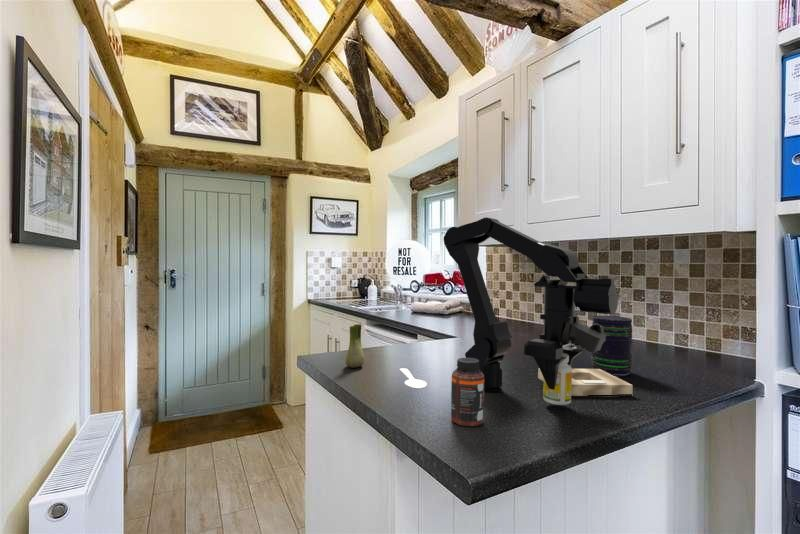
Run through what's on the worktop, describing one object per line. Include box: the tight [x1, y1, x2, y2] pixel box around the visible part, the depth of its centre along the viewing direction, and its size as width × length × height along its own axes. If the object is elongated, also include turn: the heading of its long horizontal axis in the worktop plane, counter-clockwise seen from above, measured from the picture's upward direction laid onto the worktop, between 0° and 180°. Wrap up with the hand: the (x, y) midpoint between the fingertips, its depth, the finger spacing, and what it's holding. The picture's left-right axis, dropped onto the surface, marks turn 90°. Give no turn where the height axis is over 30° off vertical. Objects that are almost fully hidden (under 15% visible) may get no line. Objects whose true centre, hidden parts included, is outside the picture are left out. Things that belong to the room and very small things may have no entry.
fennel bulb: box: [345, 323, 365, 369], centre depth 109 cm, size 6×5×12 cm
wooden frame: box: [537, 367, 634, 397], centre depth 95 cm, size 16×14×3 cm
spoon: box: [399, 367, 428, 390], centre depth 100 cm, size 5×18×1 cm, turn 12°
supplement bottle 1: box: [450, 357, 485, 427], centre depth 72 cm, size 6×6×11 cm
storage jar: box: [590, 315, 633, 374], centre depth 109 cm, size 10×10×15 cm
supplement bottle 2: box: [542, 353, 573, 406], centre depth 80 cm, size 5×5×10 cm
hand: (557, 386), depth 80 cm, fingers closed on supplement bottle 2, 5 cm apart
